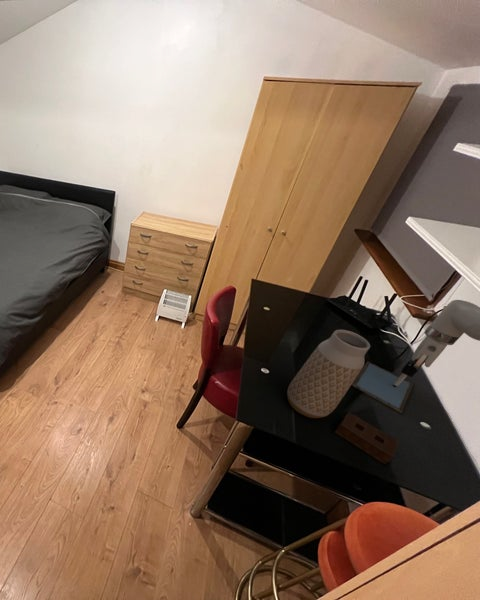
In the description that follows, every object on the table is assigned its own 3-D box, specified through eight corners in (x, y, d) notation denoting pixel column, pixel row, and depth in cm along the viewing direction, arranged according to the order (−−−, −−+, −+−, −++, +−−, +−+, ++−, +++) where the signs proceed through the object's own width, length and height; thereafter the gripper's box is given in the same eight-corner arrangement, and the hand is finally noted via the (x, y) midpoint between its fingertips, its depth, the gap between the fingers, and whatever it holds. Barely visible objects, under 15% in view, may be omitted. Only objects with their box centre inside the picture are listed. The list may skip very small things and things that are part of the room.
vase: (336, 420, 108) (392, 352, 91) (303, 426, 105) (355, 357, 88) (304, 388, 119) (349, 322, 102) (273, 393, 116) (314, 326, 99)
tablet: (366, 362, 134) (367, 361, 134) (412, 385, 125) (413, 383, 124) (351, 386, 122) (352, 384, 121) (400, 413, 112) (402, 411, 112)
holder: (391, 449, 100) (399, 441, 98) (385, 464, 95) (393, 457, 93) (342, 419, 108) (348, 411, 106) (334, 432, 104) (341, 424, 101)
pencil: (397, 386, 122) (419, 362, 115) (396, 388, 121) (418, 363, 114) (392, 384, 123) (414, 359, 116) (391, 386, 122) (413, 361, 115)
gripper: (454, 349, 101) (416, 389, 111) (459, 332, 110) (423, 370, 120) (423, 337, 106) (389, 376, 116) (430, 321, 115) (398, 358, 125)
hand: (407, 372), depth 118 cm, fingers closed on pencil, 1 cm apart
